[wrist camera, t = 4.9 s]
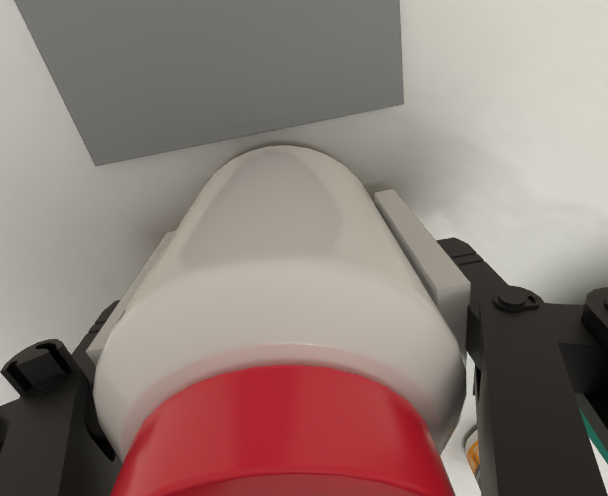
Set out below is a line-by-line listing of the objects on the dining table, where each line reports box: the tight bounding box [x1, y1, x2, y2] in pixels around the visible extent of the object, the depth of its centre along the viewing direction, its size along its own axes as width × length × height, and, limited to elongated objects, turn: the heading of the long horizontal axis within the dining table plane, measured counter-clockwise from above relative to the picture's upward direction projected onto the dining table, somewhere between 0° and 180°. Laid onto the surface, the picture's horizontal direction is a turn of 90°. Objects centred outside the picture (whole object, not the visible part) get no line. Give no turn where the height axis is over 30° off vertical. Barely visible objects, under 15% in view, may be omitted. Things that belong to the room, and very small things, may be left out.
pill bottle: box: [93, 145, 466, 496], centre depth 10 cm, size 8×8×11 cm
